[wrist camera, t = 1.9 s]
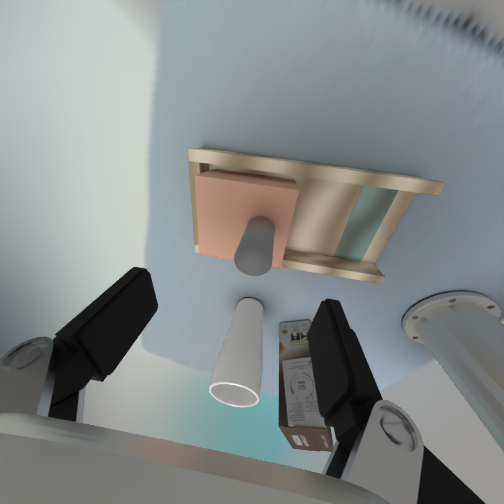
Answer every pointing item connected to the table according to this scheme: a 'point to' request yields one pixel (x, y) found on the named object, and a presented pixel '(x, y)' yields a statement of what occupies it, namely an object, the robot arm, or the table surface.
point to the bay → (327, 209)
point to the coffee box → (299, 391)
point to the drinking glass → (240, 358)
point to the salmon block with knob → (244, 217)
